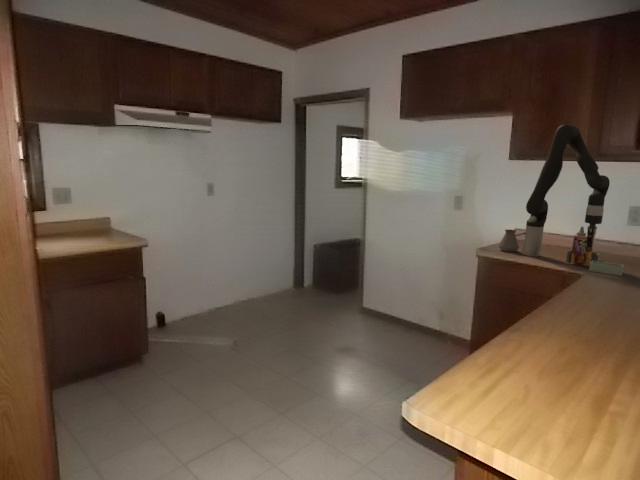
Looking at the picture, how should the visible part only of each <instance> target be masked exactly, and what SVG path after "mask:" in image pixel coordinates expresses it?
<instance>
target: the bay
mask: <svg viewBox="0 0 640 480" xmlns="http://www.w3.org/2000/svg"><path fill="white" fill-rule="evenodd" d="M566 254H567V255H566V261H567V263H569V262H571V257H572V249H571V248H570V249H568V250H567V253H566ZM600 255H601V252H593V251H592V256H591V261H592V260H593V261H600Z"/></svg>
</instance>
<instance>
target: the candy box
mask: <svg viewBox="0 0 640 480" xmlns="http://www.w3.org/2000/svg"><path fill="white" fill-rule="evenodd" d="M573 240H574V241H572V244H573V249H572V257H571V260H570V264H571V265H576V266H577V265H578V266H585V267H589V266H590V262H591V256H592V252H593V247H594V241H595V237H593V241H592V247H587V235H586V236H578V235H577V234H574V236H573Z"/></svg>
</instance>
